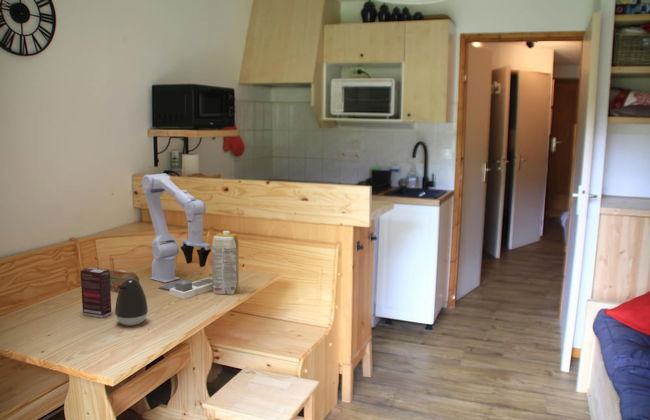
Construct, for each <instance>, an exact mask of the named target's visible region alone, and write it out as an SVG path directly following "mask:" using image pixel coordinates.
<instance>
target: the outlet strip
mask: <svg viewBox="0 0 650 420" xmlns="http://www.w3.org/2000/svg"><path fill="white" fill-rule="evenodd" d="M193 281H194V280H193ZM210 291H214V289H213V277H208V276H207V277H205V278H202V279H198V280H195V281H194V282H192V290H188V291H185V292H183V291H179V290H175V287H174V288H171V289H169V291H168V292H169V296H172V297H174V298H178V299H181V298H182V300H187V299H188V298H192V297H195V296H198V295H202V294H203V293H207V292H210Z"/></svg>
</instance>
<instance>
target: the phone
mask: <svg viewBox="0 0 650 420" xmlns="http://www.w3.org/2000/svg"><path fill="white" fill-rule="evenodd" d="M183 280H185V281H189V282H194V280H189V279H185V278H182V279H181V278H180V279H178V280H175V281H172V282H171V283H167V284H165V285H162V286H159V287H158V289H159V290H163V291H167V292H169V289H171V288H174V287H175V283H176V282H180V281H183Z"/></svg>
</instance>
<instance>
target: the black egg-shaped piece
mask: <svg viewBox="0 0 650 420" xmlns="http://www.w3.org/2000/svg"><path fill="white" fill-rule="evenodd" d="M117 287H118V288H120V290H119V293H118V292H117V295H116V296H117V297H116V302H115V312H114V314H115V316H116V318H117V320H118V322H119V323H120V324H122V325H123V326H128V327H130V326H132V327H133V326H138V325H139V324H141V323H143V322H144V320H145V319H146V317H147V315H148V312H149V308H148V306H149V305H148V301H147V298H146V294H145V292H144V289H143V286H142V284H141V283H140V281H139V282H138V281H137V280H136V279H133V278H129V279H127V280H125V281H124V282H123V283H122V285H118V286H117Z"/></svg>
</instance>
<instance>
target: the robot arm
mask: <svg viewBox="0 0 650 420" xmlns="http://www.w3.org/2000/svg"><path fill="white" fill-rule="evenodd" d="M141 187H142V190H143V194H144V197H145V200H146V204H147V207H148V211H149V215H150V216H149V217H150V219H151V222H152V227H153V231H154V234H155V238H154V239H153V240H152V242H151V249H152V250H151V253H152V256H153V260H152V262H151V277H150V279H151V280H155V281H158V282H161V283H165V284H166V283H169V282H174V281H178V280H181V277H180V276H177V275H176V258H177V256H178V255H179V252H180V249H181V251H182V252H183V253H182V254H183V255H184V257H185V261H186V264H188V265H189V264H193V254H194V249H195V248H197V249H196V252H197V255H198V261H199V263H198V264H199V267H200V268H203V267H205V266H206V263H207V260H208V257H209V255H210V253H211V252H212V249H211V244H210V243H208V242H206V241H204V229H203V228H204V217H203V215H204V214H205V213H206V210H207V206H206V203H205V201H204V200H202V199H197V198H195V196H192V194H190V193H189V191H188V190H187V189H180V188H179V187H178V185H176V184H175V183H174V182H173V181H172V180H171V176H170V175H169V174H167V173H165V172H162V173H156V174H144V176H143V177H142V180H141ZM165 192H167V193H168V194H170V195H171V196H173V197H174V201H175V202H176V203H177V204H178V205H179V206H180V207H181V208H183V210H184V214H185V217H186V220H187V238H183V239H181V241H180V242H181V246H179V244H178V242H177V240H176V237H174V236H173V235H172V234H170V233H169V228H168V226H167V221H166V217H165V213H164V210H163V205H162V202H161V196H162V195H163V194H164V193H165ZM198 248H199V249H198Z"/></svg>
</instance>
